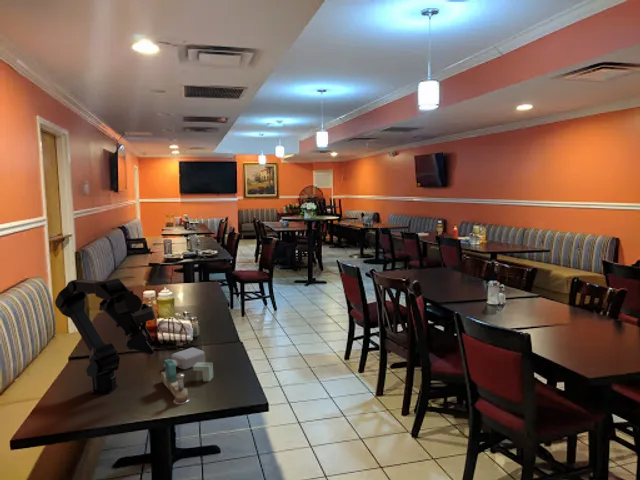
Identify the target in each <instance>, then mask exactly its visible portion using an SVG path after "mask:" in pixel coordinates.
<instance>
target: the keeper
mask: <svg viewBox="0 0 640 480" xmlns="http://www.w3.org/2000/svg"><path fill="white" fill-rule="evenodd" d="M213 367H214V365H213V362H208V361H207V362H206V361H205V362H197V363H196V364H195V365H194V366H193V367H192V371H194V372H197V371H198V372H201V373H202V382H210V381H211V380H212V379H213V378H214V368H213Z"/></svg>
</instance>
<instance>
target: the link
mask: <svg viewBox="0 0 640 480" xmlns="http://www.w3.org/2000/svg"><path fill="white" fill-rule="evenodd" d="M164 365H165V366H164V371H162V372H160V377H161V382H162V383H163V384H164V386H165V387H166V388H167V389H168V390H169V391H170V392H171V394H172V395H173V397H174V399H175V401H176V402H184V401H186V400H188V397H189V394H188V388H186V387H183V388H184V389H183V390H178V378H176V375H177V367H176V364H175V363H174V362H173V361H172V360H171V358H170V359H164Z"/></svg>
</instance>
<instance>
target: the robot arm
mask: <svg viewBox="0 0 640 480" xmlns="http://www.w3.org/2000/svg"><path fill="white" fill-rule="evenodd" d="M87 294H92V295H93V294H94V295H95V297H96V298H99V299H102V300H101V301H100V302H99V307H98V310H99V311H100V312H102V311H104V312H105V313H106V314H107V315H108V317H109V318H111V320H112V321H114V323H115V326H116V327H117V328H120V329H121V330H123V333H124V336H125V337H126V339H125V340H126V345H125V346H126V347H127V349H128V350H129V351H130V350H135V351H139V352H143V353H146V354H149V355H153V354H155V351H154V349H153V347H151V344H150V343H152V342H154V339H153V337H152V335H151V333H150V332H149V330H148V328H147V322H149V321H154V320H155V319H156V314H155V311H154V308H153V306H151V305H149V304H147V303H146V302H144V303H143V301H142V299H141V297H139V295H137V294H135V293H134V291H133V290H130V289H129V288H128V287H127V286H126V285H125V284H124V283H123V282H122V281H121V279H120V278H118V277H115V278H111V279H107V280H95V279H85V278H77V279H72V280H70V281H68V282H67V284H66V286H65V287H64V288H62V289H61V290H60V291H59V292H58V294H57V296H56V298H55V300H54V301H55V302H54V304H55V307H56V308H57V309H58V310H59V312H60V313H61V315H64V316H65V317H67V318H69V319H71V322H72V323H73V325H74V327H75V328H76V329H77V332H78V334H79V335H80V337H81V338H82V340H83V342H84V344H85V346H86V347H87V349H88V350H89V357H88V359H89V360H88V361H89V364H88V366H87V368H86V369H85V372H86V374H87V377H90V378H91V380H92V382H91V383H92V390H91V391H90V394H91V395H93V394H96V395H108V394H110V393H111V392H113V391H114V390H115V389H116V388H117V387H119V385H118V384H117V378H116V377H117V376H116V375H115V371H117V370H119V365H120V360H121V357H120V355H119V353H118V351H117V350H116V348H115V346H114V344H112V343H105V342H104V341H103V339H102V337H101V336H100V334H99V332H98V330H97V329H96V328H95V326H94V324H93V322H92V320H91V319H90V317H89V315H88V314H87V312H86V310H85V309H86V308H85V307H86V300H85V299H86V297H87Z"/></svg>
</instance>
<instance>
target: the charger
mask: <svg viewBox="0 0 640 480" xmlns="http://www.w3.org/2000/svg"><path fill="white" fill-rule="evenodd" d="M170 357H171V358H170V359H171V360H172V361H173V362H174V363H175V364H176V368H179V369H180V370H188V369H190V368H193V366H194V365H195V364H196V363H197V362H206V353H205V351H204V350H201V349H198V348H195V347H193V346H192V347H189V348H187V349H183V350H180V351H177V352H175V353H172V354H171V356H170ZM162 367H165V364H164V365H162Z"/></svg>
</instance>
